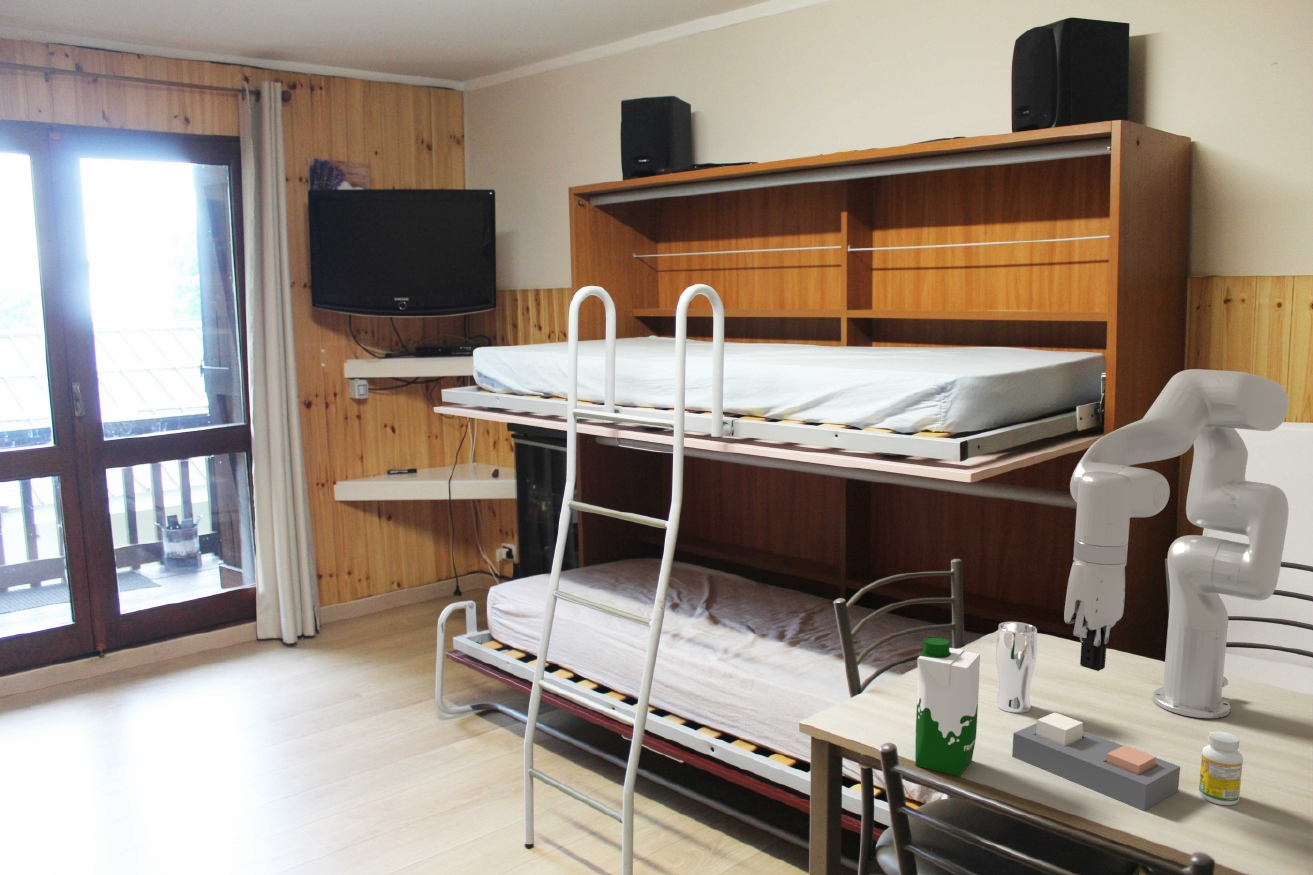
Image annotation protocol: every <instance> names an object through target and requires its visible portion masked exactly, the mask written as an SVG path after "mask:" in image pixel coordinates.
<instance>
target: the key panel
mask: <svg viewBox="0 0 1313 875" xmlns="http://www.w3.org/2000/svg"><path fill="white" fill-rule="evenodd" d="M1036 730H1037V722H1036V723H1034V724H1032V725H1030V726H1027V727H1025V728H1022V729H1019V730H1018V731H1015V732H1013V734H1012V735H1013V737H1012V738H1013V740H1012V752H1011V754H1012V756H1011V757H1012V758H1015V759H1017V760H1020V761H1023V762H1025V763H1028V764H1030V765H1032V766H1034V767H1037V768H1040V769H1041V770H1044V771H1047V772H1049V773H1051V774H1054V775H1057V776H1058V777H1061V778H1064V779H1066V780H1068V781H1071V782H1073V783H1076V784H1078V785H1080V786H1083V787H1085V788H1088V789H1091V790H1093V791H1095V792H1098V793H1100V794H1103V795H1104V796H1107V797H1109V798H1111V799H1114V800H1117V801H1119V802H1122V803H1124V804H1127V805H1128V806H1130V807H1134V808H1136V809H1138V810H1141V811H1143V812H1145V811H1146V810H1149V809H1150V808H1152V807H1154V806H1155V805H1157V804H1159V803H1161V802H1162V801H1164V800H1166V799H1168V798H1169V797H1171V796H1173V795H1175V794H1176V793H1178V792H1179V786H1180V785H1179V784H1180V772H1181V766H1180V765H1177V764H1174V763H1172V762H1169V761H1166V760H1164V759H1161V758H1157V757H1156V765H1155V768H1153V769H1151V770H1149V771H1148V772H1146V773H1144V774H1142V775H1140V776H1139V775H1137V774H1134V773H1131V772H1129V771H1126V770H1124V769H1121V768H1119V767H1116V766H1113V765H1111V764H1108V763H1106V762H1107V753H1109V752H1111V751H1114V750H1116V749H1118V748H1120V747H1122V746H1124V745H1123V744H1120V743H1117V742H1115V741H1111V740H1109V739H1107V738H1105V737H1101V736H1098V735H1095V734H1093V733H1090V732H1087V731H1086V730H1085V731H1084V730H1082V740H1079V741H1077V742H1075V743H1073V744H1071V745H1069V746H1066V747H1064V746H1062V745H1059V744H1057V743H1054V742H1051V741H1049V740H1046V739H1044V738H1041V737H1038V736H1036Z"/></svg>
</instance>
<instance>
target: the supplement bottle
mask: <svg viewBox="0 0 1313 875" xmlns="http://www.w3.org/2000/svg"><path fill="white" fill-rule="evenodd" d="M1207 742H1208V744H1206V745H1205V746H1204V747H1203V748H1202V752H1201V760H1200V761H1201V763H1200V775H1199V785H1198V793H1199V795H1200V796H1201V797H1202V798H1203V799H1204V800H1206V801H1208V802H1210V803H1213V804H1216V805H1220V806H1234V805H1236V804H1238V803H1239V801H1240V795H1241V782H1242V772H1243V771H1242V770H1243V762H1244V759H1243V754H1241V752H1240V751H1239V749H1240V739H1239V737H1238V736H1236V735H1234V734H1231V733H1229V732H1225V731H1220V730H1219V731H1218V730H1217V731H1211V732H1209V733H1208V738H1207Z"/></svg>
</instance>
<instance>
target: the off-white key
mask: <svg viewBox="0 0 1313 875" xmlns="http://www.w3.org/2000/svg"><path fill="white" fill-rule="evenodd" d="M1036 723H1037V730H1036V736H1038V737H1041V738H1044V739H1046V740H1049V741H1051V742H1054V743H1057V744H1059V745H1062V746H1064V747H1066V746H1069V745H1071V744H1073V743H1075V742H1077V741H1079V740H1082V731H1084V722H1082V721H1080V720H1077V719H1074V718H1071V717H1069V716H1065V715H1063V714H1061V713H1058V712H1053V713H1050V714H1048V715H1045V716H1042V717H1041V718H1038V719H1037V720H1036Z"/></svg>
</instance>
